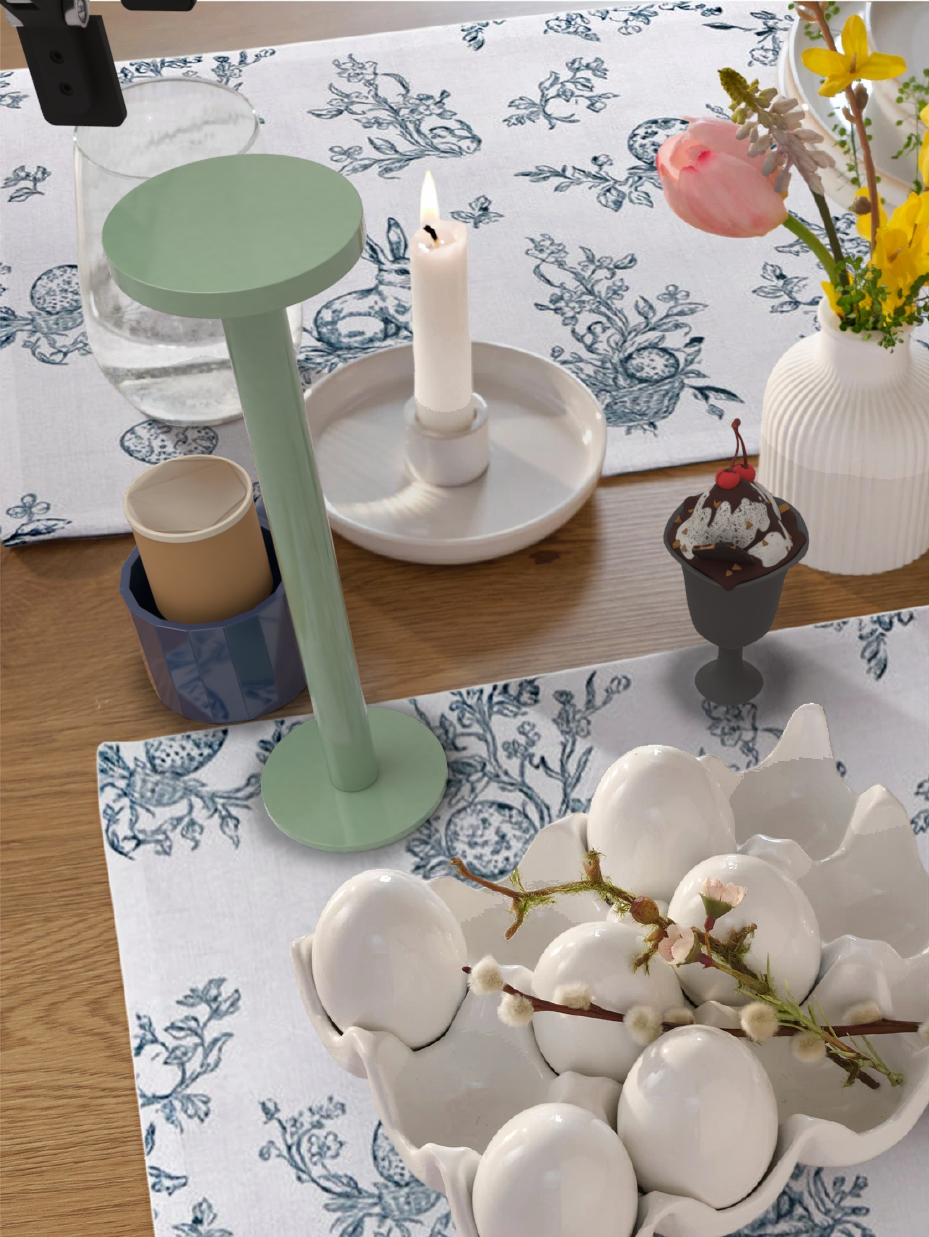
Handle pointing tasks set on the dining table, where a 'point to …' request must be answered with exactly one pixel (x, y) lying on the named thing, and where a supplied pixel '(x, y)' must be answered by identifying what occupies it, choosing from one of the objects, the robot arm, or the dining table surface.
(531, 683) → the dining table surface
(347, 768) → the green pedestal stand
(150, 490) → the paper cup
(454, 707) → the dining table surface
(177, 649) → the mug
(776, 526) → the sundae
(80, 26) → the robot arm
